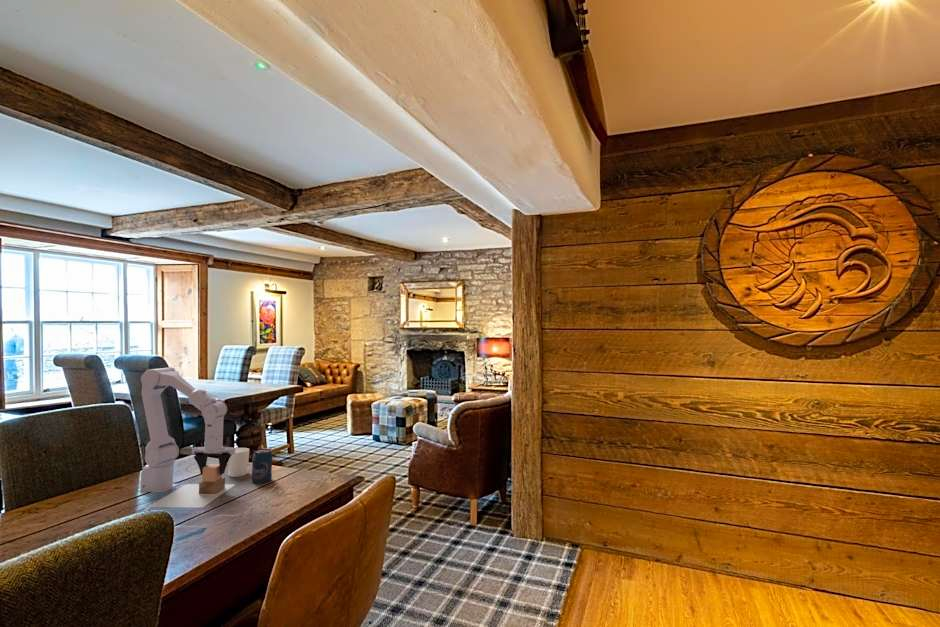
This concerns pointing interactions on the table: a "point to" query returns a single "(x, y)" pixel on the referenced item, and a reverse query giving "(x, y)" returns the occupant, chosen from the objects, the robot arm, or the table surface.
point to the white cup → (238, 462)
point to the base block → (211, 486)
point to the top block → (211, 473)
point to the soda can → (262, 466)
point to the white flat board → (188, 497)
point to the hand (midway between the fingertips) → (212, 473)
